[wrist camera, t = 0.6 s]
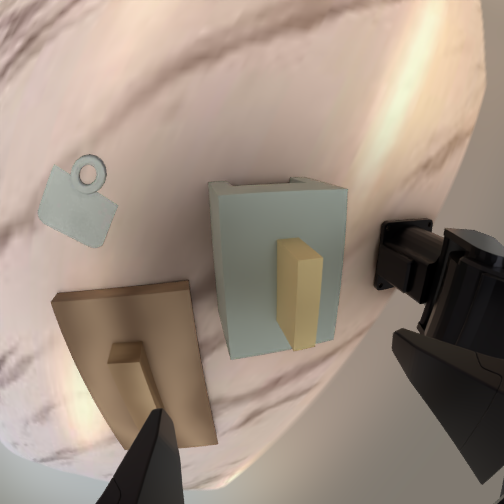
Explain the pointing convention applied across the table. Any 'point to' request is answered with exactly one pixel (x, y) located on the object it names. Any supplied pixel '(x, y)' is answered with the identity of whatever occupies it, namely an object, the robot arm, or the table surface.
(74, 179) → the mounting bracket
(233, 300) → the cabinet block
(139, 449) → the robot arm
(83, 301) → the cleat board
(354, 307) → the table surface
